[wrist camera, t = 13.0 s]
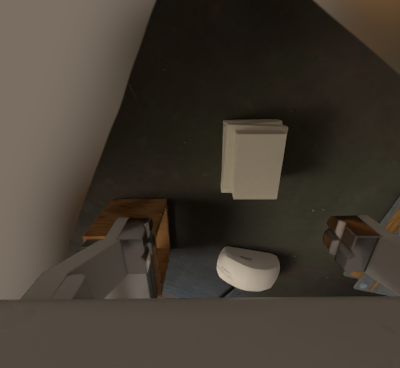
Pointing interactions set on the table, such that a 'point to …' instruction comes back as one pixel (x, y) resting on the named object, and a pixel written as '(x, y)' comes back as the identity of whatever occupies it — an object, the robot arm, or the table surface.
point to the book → (396, 224)
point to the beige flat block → (257, 163)
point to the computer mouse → (248, 268)
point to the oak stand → (154, 279)
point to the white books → (228, 143)
